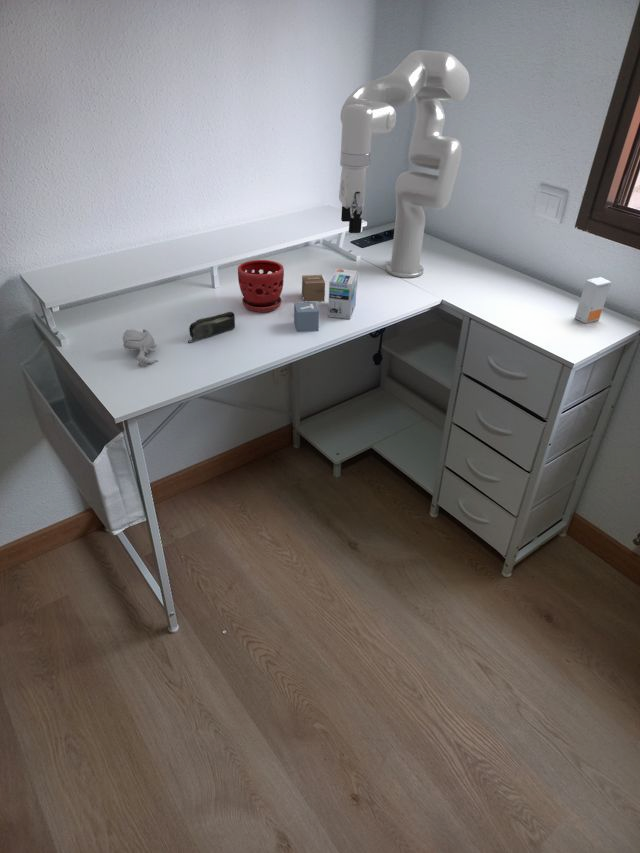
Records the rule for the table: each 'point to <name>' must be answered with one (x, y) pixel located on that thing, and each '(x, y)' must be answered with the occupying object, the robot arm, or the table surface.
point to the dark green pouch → (211, 326)
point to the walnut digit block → (313, 288)
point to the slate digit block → (306, 317)
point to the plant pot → (261, 284)
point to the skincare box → (592, 299)
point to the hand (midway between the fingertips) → (350, 226)
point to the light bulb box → (342, 293)
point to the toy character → (140, 344)
